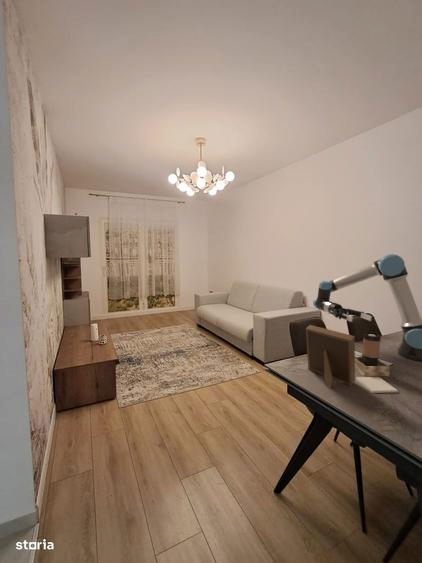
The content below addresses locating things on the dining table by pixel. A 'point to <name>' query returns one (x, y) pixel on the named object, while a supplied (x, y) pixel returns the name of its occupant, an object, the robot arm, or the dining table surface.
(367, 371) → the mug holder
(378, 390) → the pad
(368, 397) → the dining table surface
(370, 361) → the travel mug
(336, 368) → the photo frame
